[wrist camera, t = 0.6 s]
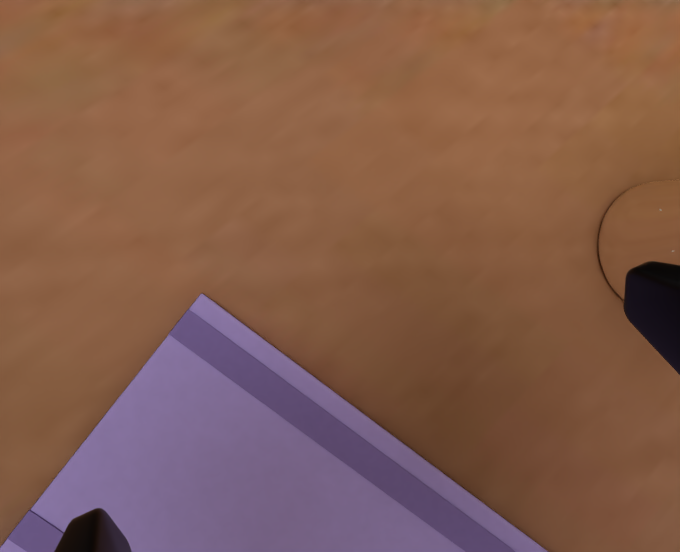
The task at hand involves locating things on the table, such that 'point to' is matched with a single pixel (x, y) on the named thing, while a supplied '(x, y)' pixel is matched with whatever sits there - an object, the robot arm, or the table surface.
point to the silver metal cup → (640, 230)
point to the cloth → (254, 463)
